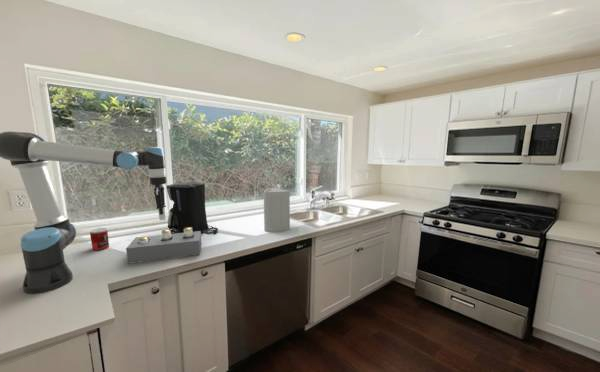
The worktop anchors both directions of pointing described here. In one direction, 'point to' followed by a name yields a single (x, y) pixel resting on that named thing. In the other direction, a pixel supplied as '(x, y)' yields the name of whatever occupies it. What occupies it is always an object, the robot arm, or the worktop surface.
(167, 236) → the knob middle
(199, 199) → the coffee maker
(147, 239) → the knob near
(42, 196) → the robot arm
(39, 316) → the worktop surface
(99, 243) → the canned food
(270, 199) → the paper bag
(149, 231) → the worktop surface
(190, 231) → the knob far
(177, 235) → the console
